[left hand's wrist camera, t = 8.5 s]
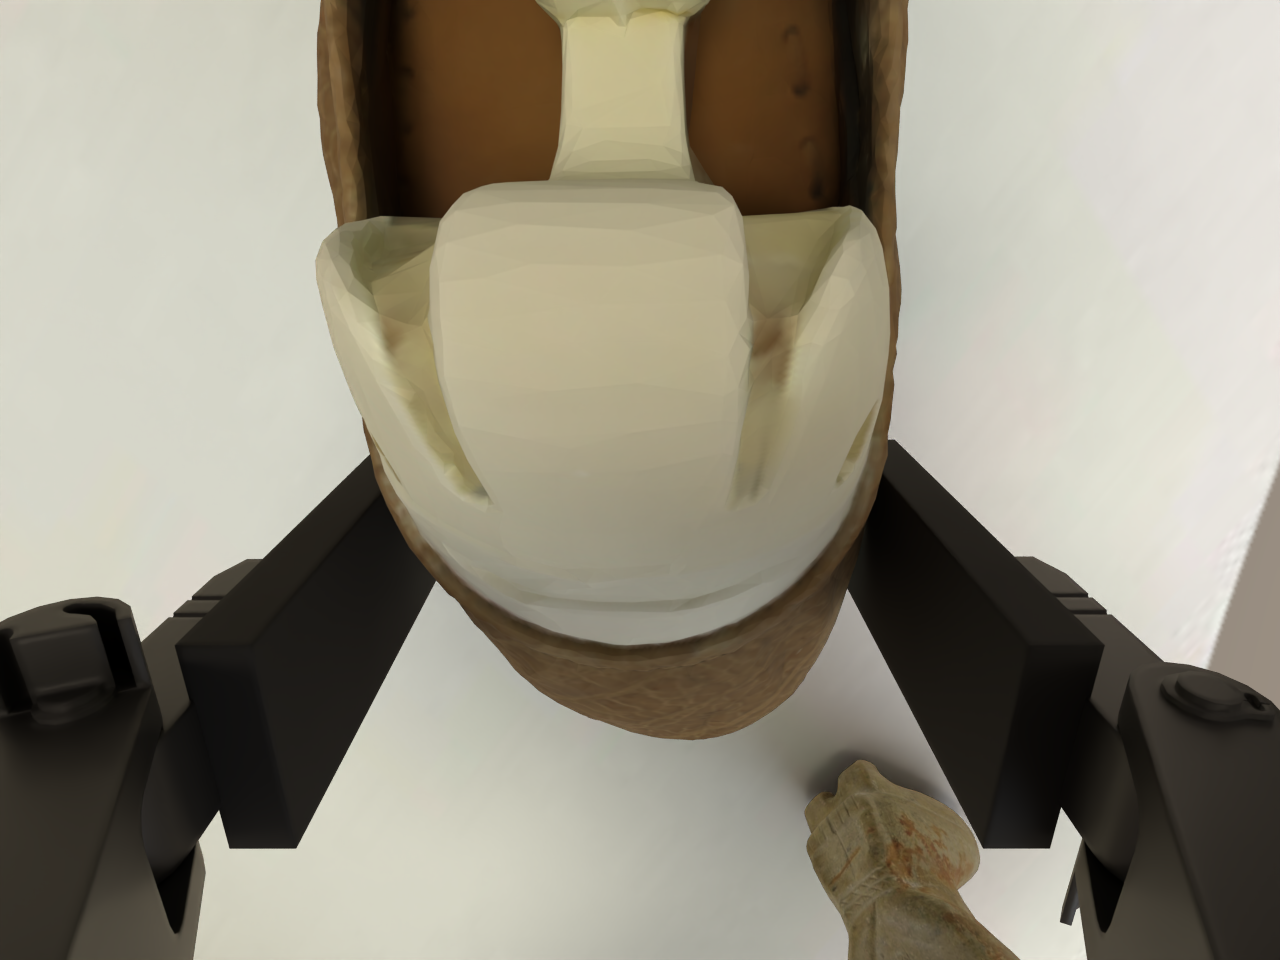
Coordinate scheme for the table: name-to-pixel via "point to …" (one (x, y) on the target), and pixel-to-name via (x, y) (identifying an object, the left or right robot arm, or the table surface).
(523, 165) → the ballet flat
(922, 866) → the sculpture
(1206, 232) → the table surface
